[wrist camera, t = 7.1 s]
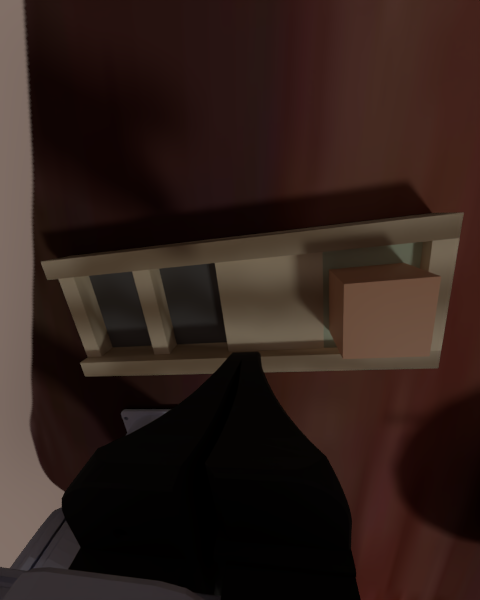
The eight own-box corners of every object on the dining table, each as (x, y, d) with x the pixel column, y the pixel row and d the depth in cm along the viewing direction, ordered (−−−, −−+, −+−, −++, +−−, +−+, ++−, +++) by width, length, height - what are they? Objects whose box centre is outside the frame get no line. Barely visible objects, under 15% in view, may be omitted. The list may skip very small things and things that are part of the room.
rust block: (397, 327, 18) (429, 356, 15) (329, 330, 19) (342, 359, 15) (403, 262, 17) (441, 276, 13) (329, 269, 18) (344, 284, 14)
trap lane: (415, 347, 21) (438, 368, 18) (105, 358, 26) (85, 376, 23) (432, 213, 17) (463, 212, 14) (70, 255, 22) (40, 262, 19)
